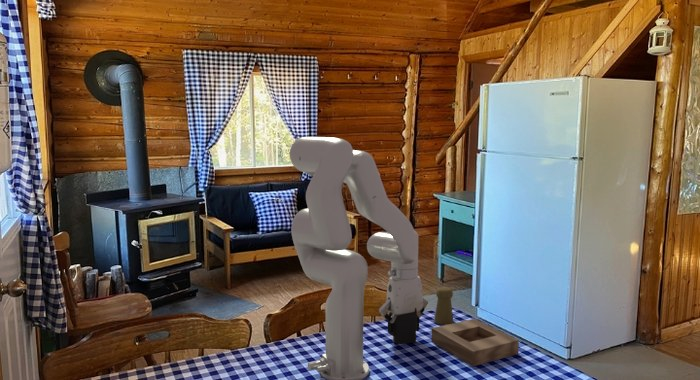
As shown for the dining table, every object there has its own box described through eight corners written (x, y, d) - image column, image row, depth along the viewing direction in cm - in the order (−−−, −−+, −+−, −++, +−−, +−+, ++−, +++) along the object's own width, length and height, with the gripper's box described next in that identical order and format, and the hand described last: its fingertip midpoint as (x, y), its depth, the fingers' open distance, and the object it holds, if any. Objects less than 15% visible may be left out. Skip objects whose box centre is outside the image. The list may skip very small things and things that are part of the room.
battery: (414, 338, 158) (415, 300, 157) (417, 343, 155) (417, 305, 153) (390, 338, 158) (391, 301, 156) (392, 344, 154) (393, 305, 153)
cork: (432, 323, 170) (433, 289, 168) (435, 317, 175) (436, 284, 174) (452, 325, 168) (453, 291, 166) (454, 319, 174) (455, 285, 172)
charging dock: (473, 366, 140) (473, 351, 140) (431, 341, 156) (431, 328, 155) (518, 353, 148) (518, 340, 147) (474, 331, 163) (474, 318, 163)
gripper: (385, 280, 146) (384, 342, 148) (437, 271, 154) (435, 331, 157) (371, 273, 153) (371, 333, 155) (421, 265, 161) (420, 322, 163)
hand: (403, 331), depth 156 cm, fingers closed on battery, 7 cm apart
